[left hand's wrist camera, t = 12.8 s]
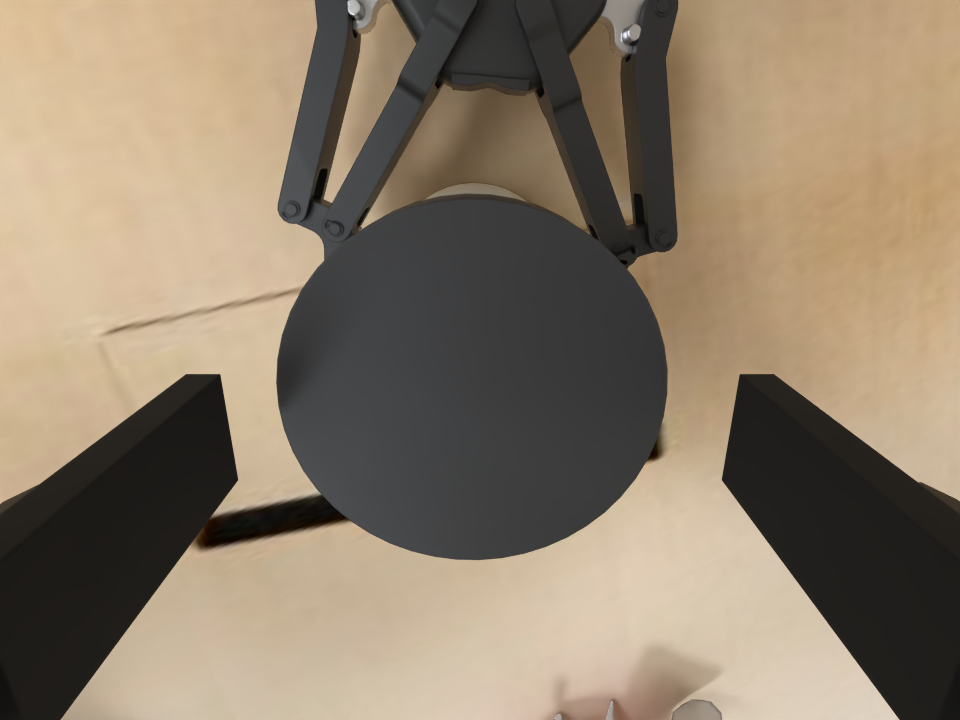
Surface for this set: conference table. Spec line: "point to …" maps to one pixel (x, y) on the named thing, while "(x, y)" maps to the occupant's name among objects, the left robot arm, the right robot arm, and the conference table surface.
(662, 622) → the conference table surface
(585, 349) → the lid
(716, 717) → the fish
